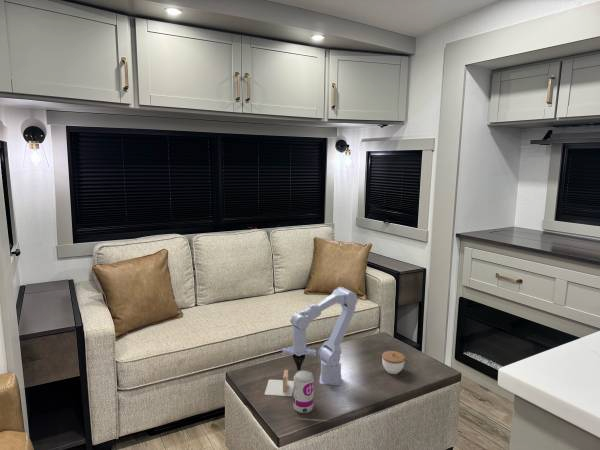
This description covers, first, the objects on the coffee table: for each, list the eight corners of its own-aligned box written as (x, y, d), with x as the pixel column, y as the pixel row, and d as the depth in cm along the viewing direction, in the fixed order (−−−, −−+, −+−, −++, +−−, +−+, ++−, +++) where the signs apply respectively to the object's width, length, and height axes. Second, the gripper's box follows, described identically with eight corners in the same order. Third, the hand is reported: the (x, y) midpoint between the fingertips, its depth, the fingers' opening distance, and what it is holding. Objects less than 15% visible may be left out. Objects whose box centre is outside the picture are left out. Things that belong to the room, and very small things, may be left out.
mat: (294, 382, 187) (294, 380, 187) (291, 397, 176) (291, 396, 176) (268, 380, 188) (268, 379, 188) (264, 395, 177) (264, 394, 177)
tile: (288, 384, 185) (288, 369, 183) (286, 391, 179) (286, 377, 178) (284, 384, 185) (284, 369, 184) (282, 391, 179) (282, 376, 178)
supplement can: (317, 409, 167) (317, 376, 165) (300, 416, 163) (301, 382, 160) (305, 400, 174) (306, 367, 171) (289, 406, 169) (289, 373, 167)
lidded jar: (392, 379, 191) (393, 360, 189) (376, 368, 200) (377, 351, 198) (408, 372, 197) (409, 354, 195) (392, 363, 206) (393, 345, 204)
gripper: (281, 343, 174) (281, 373, 176) (315, 345, 173) (315, 375, 175) (283, 336, 181) (283, 365, 183) (316, 338, 180) (315, 366, 182)
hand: (299, 369), depth 180 cm, fingers closed
